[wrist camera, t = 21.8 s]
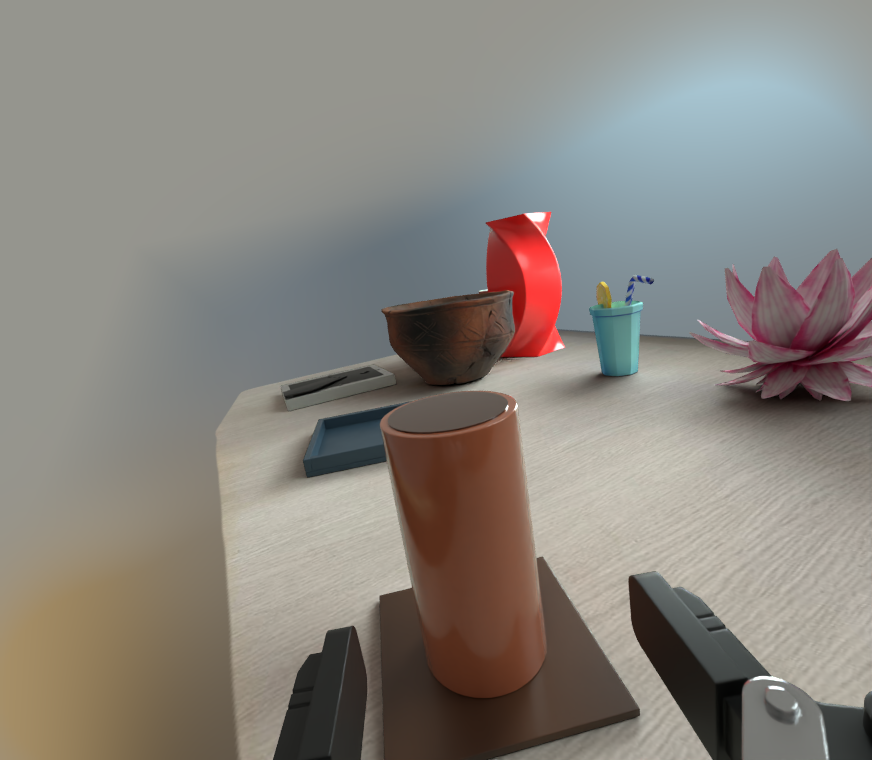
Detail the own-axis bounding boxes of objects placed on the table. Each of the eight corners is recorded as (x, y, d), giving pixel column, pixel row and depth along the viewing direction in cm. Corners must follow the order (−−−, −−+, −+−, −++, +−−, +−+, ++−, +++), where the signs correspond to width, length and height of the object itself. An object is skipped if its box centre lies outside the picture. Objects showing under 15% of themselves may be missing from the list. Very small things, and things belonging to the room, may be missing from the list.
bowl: (548, 361, 86) (540, 282, 82) (476, 400, 68) (461, 301, 64) (448, 361, 102) (437, 295, 99) (368, 393, 84) (352, 313, 81)
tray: (306, 477, 50) (302, 460, 49) (321, 432, 65) (318, 419, 64) (434, 451, 51) (431, 434, 51) (419, 413, 66) (417, 400, 66)
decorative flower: (783, 358, 64) (786, 250, 60) (997, 390, 43) (1018, 229, 40) (654, 389, 60) (649, 275, 56) (822, 439, 39) (829, 266, 36)
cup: (678, 374, 64) (675, 269, 61) (633, 386, 62) (627, 278, 59) (615, 361, 77) (609, 274, 74) (576, 370, 76) (568, 281, 72)
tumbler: (400, 662, 23) (349, 427, 20) (468, 586, 28) (435, 387, 25) (509, 724, 19) (465, 443, 16) (566, 623, 24) (541, 391, 21)
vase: (573, 349, 92) (561, 208, 86) (507, 362, 90) (489, 218, 84) (544, 341, 107) (531, 219, 100) (486, 352, 105) (470, 228, 98)
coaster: (386, 788, 18) (384, 781, 18) (380, 600, 29) (379, 595, 28) (640, 715, 19) (640, 708, 19) (543, 561, 30) (542, 556, 30)
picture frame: (288, 411, 80) (396, 384, 87) (284, 396, 80) (393, 370, 87) (282, 395, 95) (375, 373, 102) (279, 382, 94) (373, 361, 101)
